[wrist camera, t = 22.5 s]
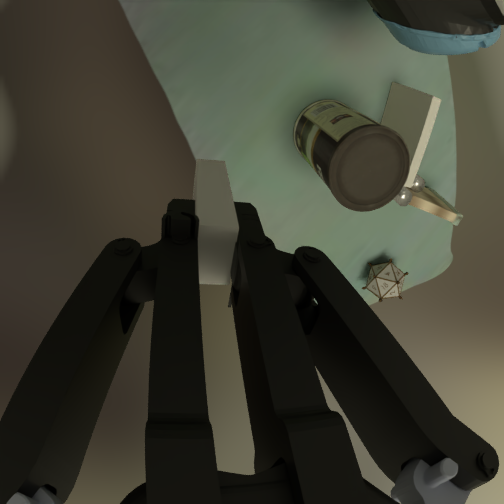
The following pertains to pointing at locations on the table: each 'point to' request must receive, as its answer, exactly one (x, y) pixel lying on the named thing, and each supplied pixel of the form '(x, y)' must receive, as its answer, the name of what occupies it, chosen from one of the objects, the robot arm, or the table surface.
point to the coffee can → (352, 154)
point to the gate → (435, 205)
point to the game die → (385, 280)
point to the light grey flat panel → (411, 121)
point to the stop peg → (418, 184)
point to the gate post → (403, 197)
